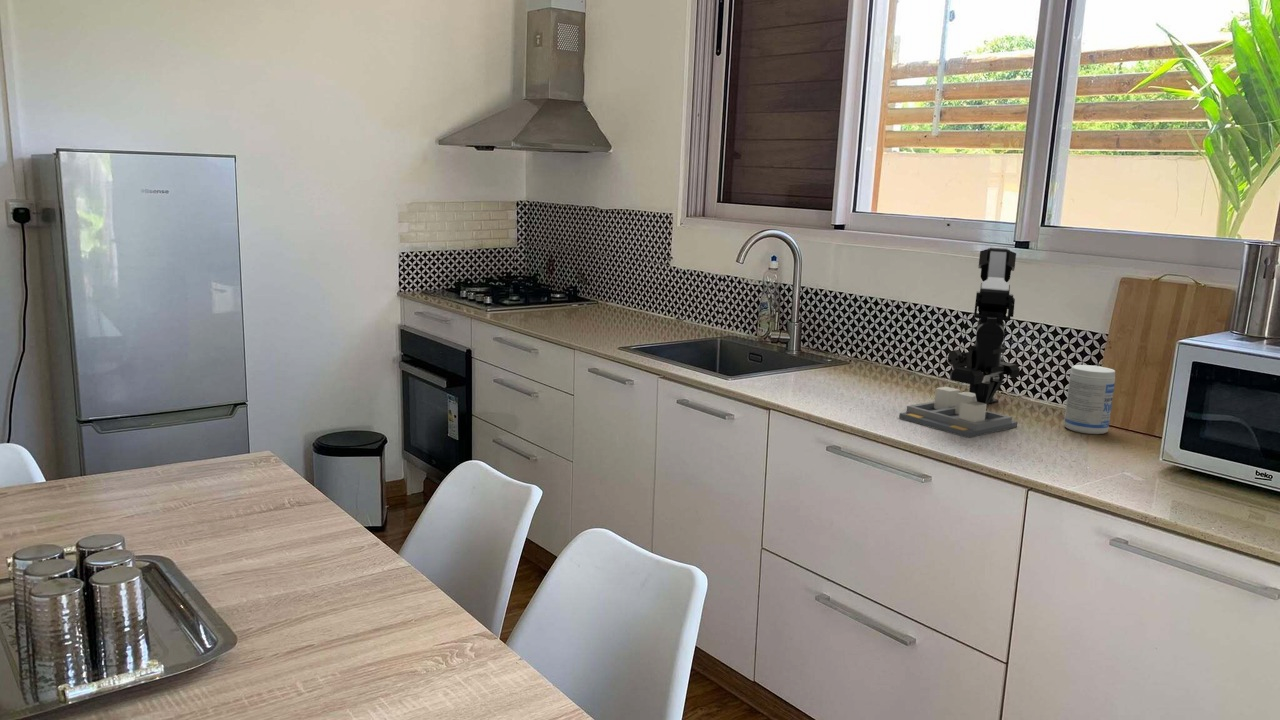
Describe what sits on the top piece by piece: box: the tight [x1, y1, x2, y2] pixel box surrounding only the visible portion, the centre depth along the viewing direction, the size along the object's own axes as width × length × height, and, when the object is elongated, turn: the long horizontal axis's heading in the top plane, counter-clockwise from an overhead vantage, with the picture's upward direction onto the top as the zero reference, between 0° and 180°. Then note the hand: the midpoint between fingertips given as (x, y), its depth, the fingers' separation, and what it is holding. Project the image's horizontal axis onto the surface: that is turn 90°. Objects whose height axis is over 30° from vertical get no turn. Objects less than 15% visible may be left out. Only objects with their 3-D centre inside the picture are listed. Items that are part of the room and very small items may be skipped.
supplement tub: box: [1063, 364, 1116, 435], centre depth 221 cm, size 10×10×15 cm
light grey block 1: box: [955, 391, 977, 415], centre depth 225 cm, size 4×4×5 cm
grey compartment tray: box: [898, 400, 1018, 439], centre depth 224 cm, size 19×19×3 cm
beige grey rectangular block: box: [934, 386, 961, 409], centre depth 230 cm, size 4×4×5 cm
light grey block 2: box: [959, 400, 988, 423], centre depth 216 cm, size 4×4×5 cm
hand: (981, 409), depth 218 cm, fingers closed
